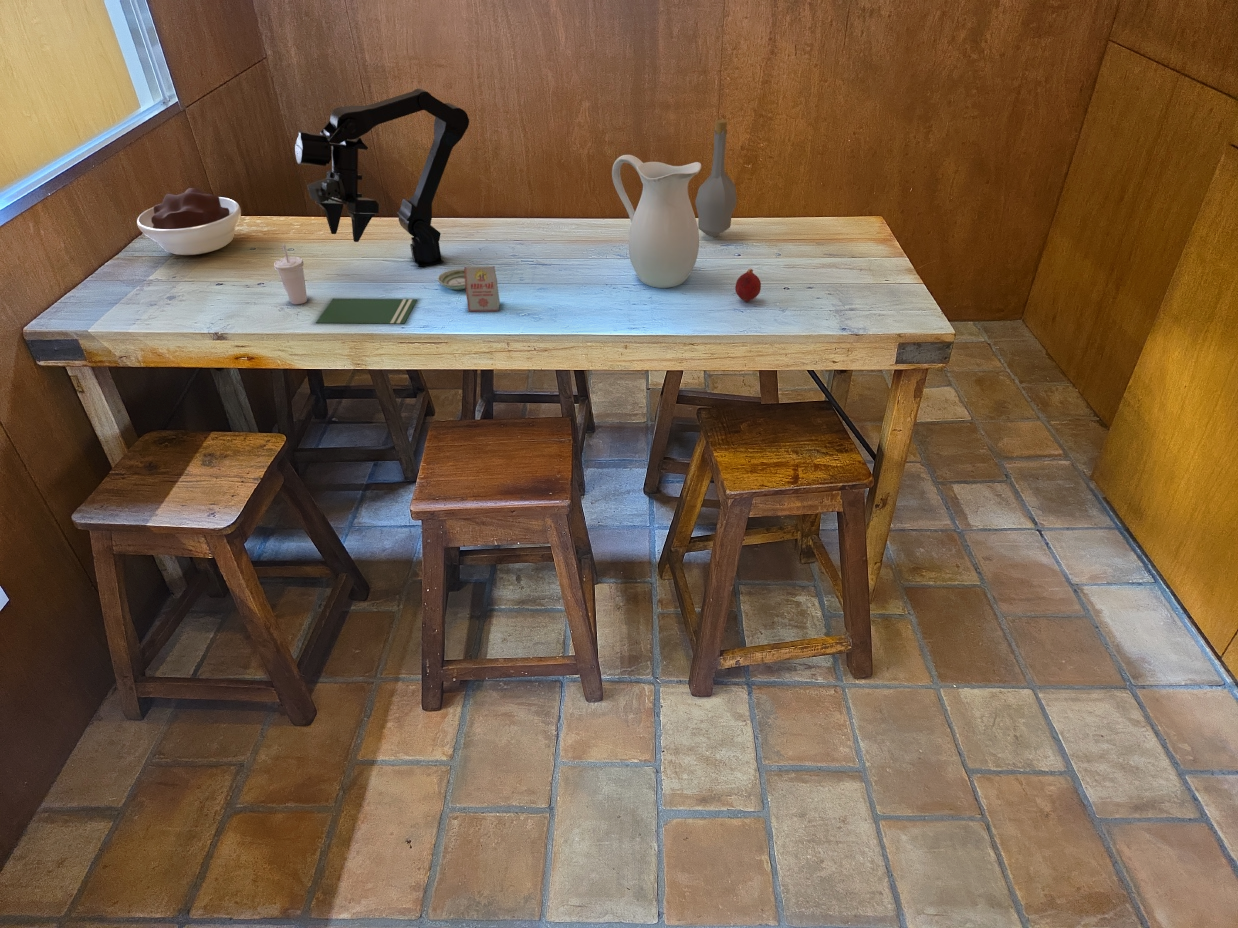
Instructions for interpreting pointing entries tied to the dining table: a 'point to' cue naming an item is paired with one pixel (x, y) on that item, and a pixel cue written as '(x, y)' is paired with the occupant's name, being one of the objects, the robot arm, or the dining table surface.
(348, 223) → the dining table surface
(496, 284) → the tan food box
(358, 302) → the cloth
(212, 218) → the bowl of brown food
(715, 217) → the bottle
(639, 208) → the pitcher
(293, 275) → the smoothie
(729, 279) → the dining table surface
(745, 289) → the onion
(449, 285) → the saucer
